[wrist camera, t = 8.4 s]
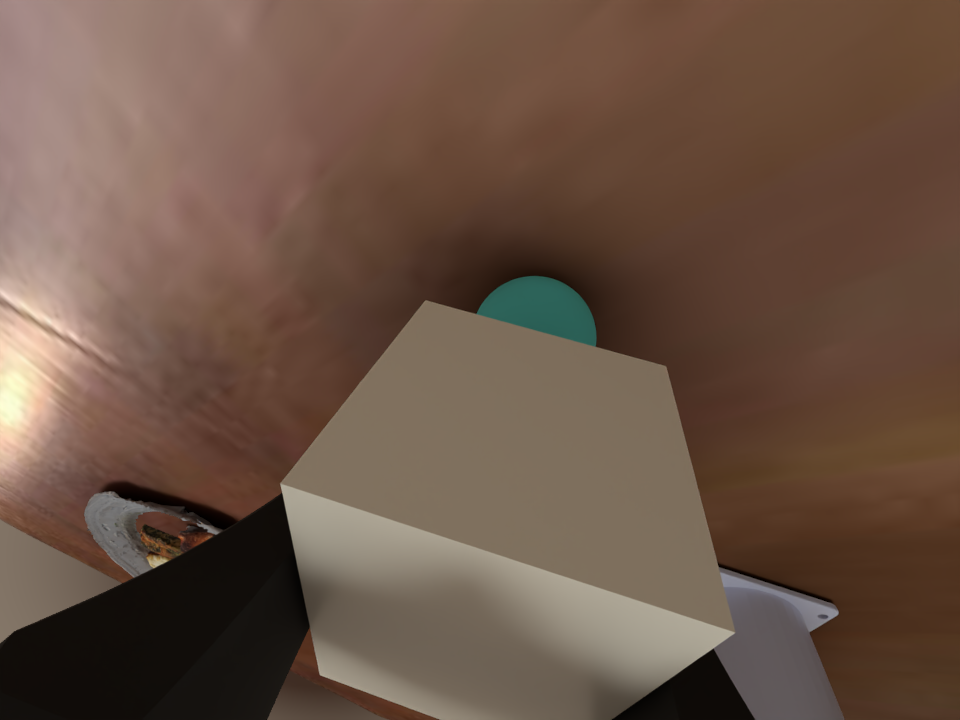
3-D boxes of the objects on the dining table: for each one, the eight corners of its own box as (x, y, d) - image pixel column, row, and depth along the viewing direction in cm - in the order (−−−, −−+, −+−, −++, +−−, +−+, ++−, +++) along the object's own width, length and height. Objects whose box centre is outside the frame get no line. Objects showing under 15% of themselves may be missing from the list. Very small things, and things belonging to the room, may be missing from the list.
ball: (610, 360, 12) (617, 265, 16) (456, 322, 13) (493, 238, 16) (571, 437, 16) (583, 349, 19) (454, 405, 17) (484, 325, 20)
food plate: (300, 532, 35) (273, 571, 32) (329, 640, 48) (312, 674, 45) (70, 455, 39) (27, 483, 36) (156, 575, 52) (130, 602, 49)
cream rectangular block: (565, 541, 15) (552, 761, 10) (406, 490, 15) (319, 674, 10) (666, 366, 10) (734, 632, 5) (425, 300, 10) (280, 483, 5)
